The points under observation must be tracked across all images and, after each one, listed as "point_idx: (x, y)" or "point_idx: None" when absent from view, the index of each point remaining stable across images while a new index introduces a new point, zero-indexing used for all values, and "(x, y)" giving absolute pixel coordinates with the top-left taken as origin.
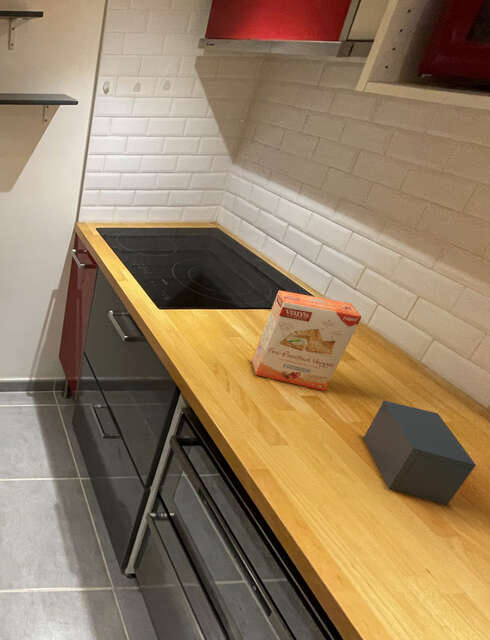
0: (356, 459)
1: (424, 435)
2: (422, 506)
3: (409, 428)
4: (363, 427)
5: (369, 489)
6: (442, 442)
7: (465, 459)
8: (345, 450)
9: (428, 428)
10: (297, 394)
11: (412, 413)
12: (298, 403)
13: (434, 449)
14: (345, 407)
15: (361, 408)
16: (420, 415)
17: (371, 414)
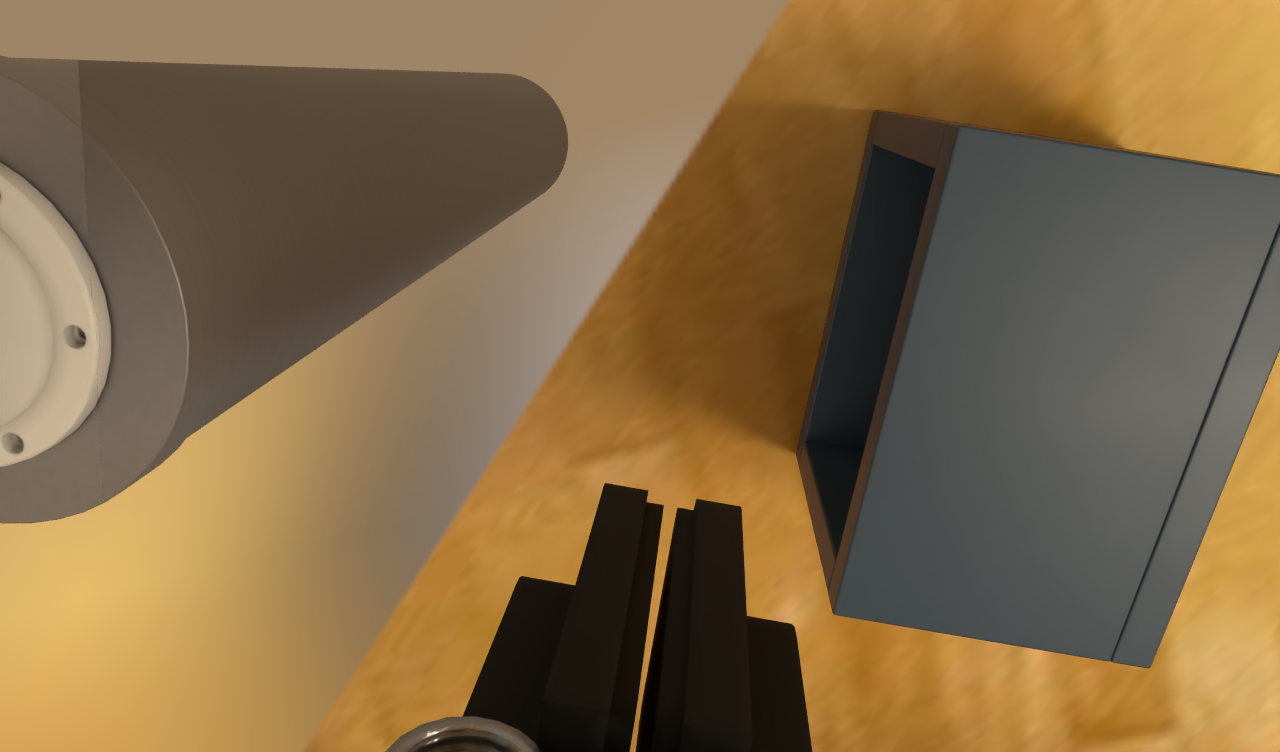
0: None
1: (1124, 359)
2: (1016, 66)
3: (1192, 408)
4: None
5: (1249, 112)
6: (1042, 312)
7: (998, 167)
8: None
9: (1031, 442)
10: (1185, 738)
11: (1030, 575)
12: (1227, 672)
13: (1170, 218)
14: (963, 692)
15: (877, 701)
16: (987, 565)
17: (850, 669)
